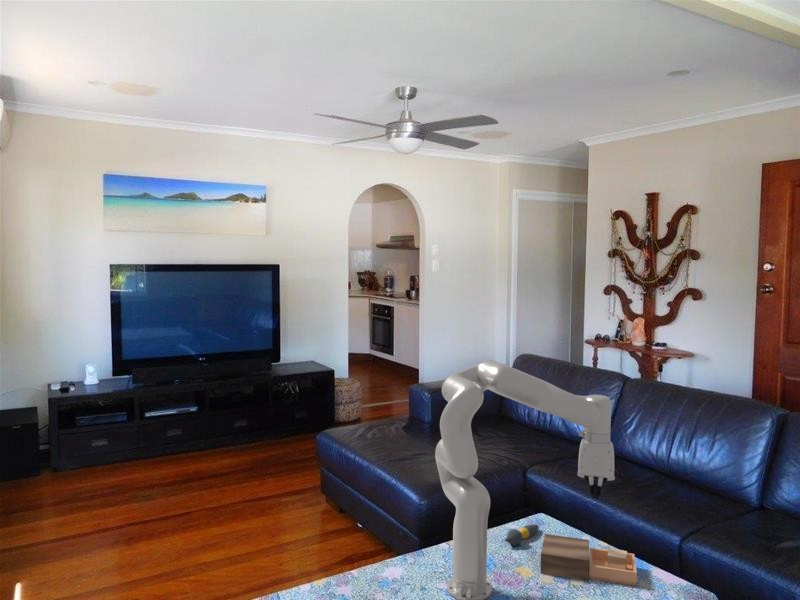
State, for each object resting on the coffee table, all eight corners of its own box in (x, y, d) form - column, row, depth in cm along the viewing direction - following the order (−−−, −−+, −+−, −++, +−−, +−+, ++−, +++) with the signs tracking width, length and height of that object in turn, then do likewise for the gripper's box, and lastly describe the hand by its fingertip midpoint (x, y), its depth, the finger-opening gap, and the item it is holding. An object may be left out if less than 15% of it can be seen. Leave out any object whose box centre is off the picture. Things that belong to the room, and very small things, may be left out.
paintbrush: (528, 527, 212) (528, 513, 212) (541, 531, 209) (541, 517, 208) (501, 547, 196) (501, 532, 196) (514, 552, 193) (515, 537, 193)
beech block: (607, 554, 178) (607, 571, 179) (625, 558, 176) (625, 575, 176) (609, 547, 183) (609, 563, 183) (627, 551, 181) (626, 567, 181)
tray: (636, 586, 172) (636, 572, 172) (588, 579, 176) (589, 565, 176) (634, 566, 183) (634, 553, 183) (589, 560, 188) (589, 547, 187)
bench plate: (588, 580, 175) (588, 560, 175) (540, 573, 180) (540, 553, 179) (588, 558, 189) (589, 539, 188) (544, 552, 193) (544, 533, 192)
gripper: (570, 437, 178) (568, 498, 179) (624, 442, 173) (622, 505, 174) (571, 431, 185) (569, 490, 186) (623, 436, 180) (621, 496, 181)
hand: (595, 497), depth 180 cm, fingers closed
